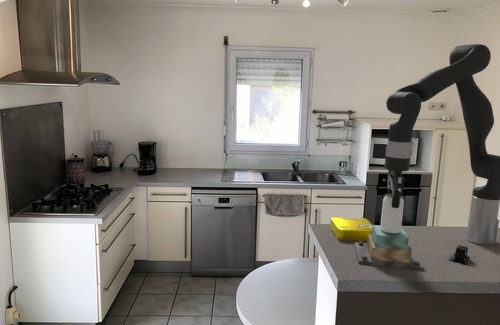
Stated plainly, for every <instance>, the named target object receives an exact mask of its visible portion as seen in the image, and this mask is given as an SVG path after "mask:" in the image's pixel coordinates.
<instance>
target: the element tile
mask: <svg viewBox="0 0 500 325" xmlns="http://www.w3.org/2000/svg"><path fill="white" fill-rule="evenodd" d="M372 225H373V224H372V223H371V222H370V220H368V219H367V218H364V217H363V218H362V217H335V216H334V217H331V218H330V224H329V229H330V230H331V231H333V232H332V233H333V234H334V236H335V235H336V236H335V237H336V239H338V238H339V239H338V240H340V239H343V240H342V241H361V242H364V241H365V242H366V241H367V239H368V235H371V234H372Z"/></svg>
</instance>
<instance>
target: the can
mask: <svg viewBox="0 0 500 325" xmlns="http://www.w3.org/2000/svg"><path fill="white" fill-rule="evenodd" d="M392 197H393V195H392V194H388V193H386V194H384V198H383V200H382V207H381V215H380V216H381V217H380V226H381V227H380V229H381V231H383V232H385V233H389V234H398V233H400V232H401V228H402V224H403V217H404V215H403V213H404V206H405V201H404V196H403V195H402V196H401V197H400V204H399V208H392Z"/></svg>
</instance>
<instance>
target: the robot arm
mask: <svg viewBox="0 0 500 325" xmlns="http://www.w3.org/2000/svg"><path fill="white" fill-rule="evenodd" d="M491 54H492V53H491V50H490V49H489V47H488V46H487V45H485V44H480V43H474V44H463V45H456V46H455V47H453V48H452V49H451V51H450V54H449V65H448V66H444V67H441V68H439V69H437V70H434V71H432V72H430V73H427V74H426V75H424V76H422V77H421V78H420V79H418V80H417V81H415V82H414V83H411V84H409V85H406V86H403V87H401V88H399V89H397V90H394V91H392V93H391V94H390V95H389V96H388V98H387V99H386V103H385V104H386V106H385V107H386V108H387V110H388V111H389V112H390V113H392V114H395V115H400V116H399V119H398V121H394V122H391V123H390V125H389V128H388V135H387V136H388V137H387V142H386V143H387V144H386V149H385V157H384V158H385V160H384V169H385V170H387V171H388V174H387V181H386V185H387V187H386V188H387V194H392V195H393V197H392V208H399V204H400V197H401V196H403V195H404V185H405V183H404V182H405V176H403V172H408V171H410V166H411V154H412V138H413V130H414V128H415V125H416V122H417V119H418V118H419V114H420V112H421V109H422V103H426V102H428V101H429V100H431V99H432V98H434V97H435V96H437V95H438V94H440V93H441V92H442V91H444V90H445V89H448V88H449V87H451V86H453V85H454V84H455V85H456V89H457V90H456V91H457V92H458V97H459V101H460V106H461V111H462V117H463V122H464V126H465V130H466V136H467V140H468V147H469V148H468V150H469V159H470V160H469V161H470V162H469V163H470V167H471V168H470V169H471V171H472V173H473V175H474V176H475V177H478V178H481V179H485V180H486V184H485V185H482V186H475V187H474V188H473V189H472V194H471V202H470V208H469V215H468V221H467V229H466V235H465V239H466V240H467V241H469V242H471V243H475V244H478V243H479V245H483V244H487V245H486V246H491V245H496V243H497V237H498V231H499V224H500V219H499V218H498V217H499V211H500V155H497V154H492V153H491V154H490V153H488V152H487V146H486V142H487V141H486V140H487V138H488V136H489V135H490V132H491V131H492V129H493V127H494V124H495V117H494V111H493V106H492V103H491V101H490V100H489V98H488V97H487V95H485V93H484V92H483V90H481V89H480V87H479V86H478V85H477V83H476V81H475V79H474V77H473V76H475V75H476V74H478V73H480V72H482V71H484V70H485V69H487V67H488V66H489V64H490V61H491V60H492V58H491V57H492V56H491ZM490 244H491V245H490Z"/></svg>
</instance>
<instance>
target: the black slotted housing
mask: <svg viewBox="0 0 500 325" xmlns="http://www.w3.org/2000/svg"><path fill="white" fill-rule="evenodd" d="M468 251H469V246H465V245H462V244H458V245H457V246H456V248H455V253H454V254H453V255H451V257H450V258H449V259H448V261H450V262H452V263H456V264H459V263H460V265H463V266H467V265H468V264H469V263H470V261H469V259H470V257H469V256H470V255H468V253H469V252H468ZM468 262H469V263H468Z"/></svg>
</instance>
